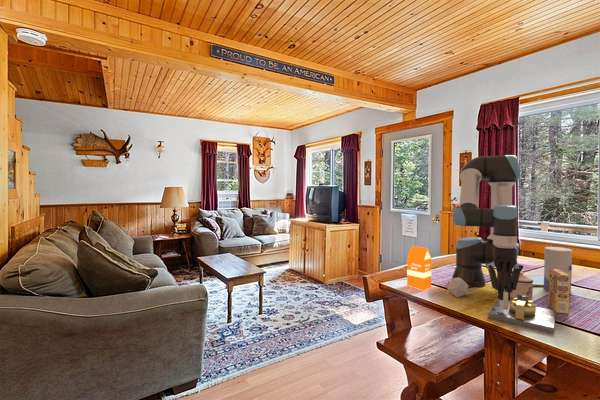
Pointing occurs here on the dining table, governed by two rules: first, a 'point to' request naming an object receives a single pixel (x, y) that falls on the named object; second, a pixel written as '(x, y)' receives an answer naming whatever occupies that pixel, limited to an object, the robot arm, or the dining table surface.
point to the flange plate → (539, 321)
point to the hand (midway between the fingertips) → (503, 308)
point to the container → (557, 263)
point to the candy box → (559, 291)
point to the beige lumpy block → (522, 308)
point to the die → (458, 287)
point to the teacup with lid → (523, 287)
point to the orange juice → (419, 268)
